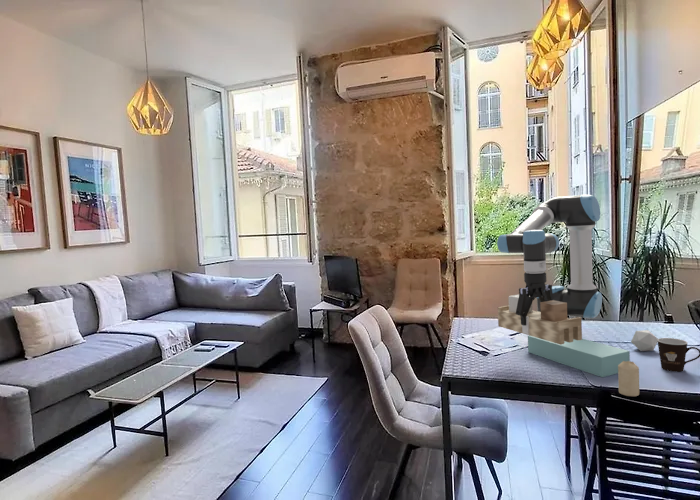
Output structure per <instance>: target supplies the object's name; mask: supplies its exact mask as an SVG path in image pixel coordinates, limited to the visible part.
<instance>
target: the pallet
mask: <svg viewBox="0 0 700 500" xmlns="http://www.w3.org/2000/svg"><path fill="white" fill-rule="evenodd" d="M532 310H533V309H532ZM527 316H528V317H529V335H530V336H533V337H536V338H540V339H543V340H547V341H550V342H553V343H557V344H560V345H561V344H564V341H566V342H569V343H570V342H573V339H574V340H578V341H579V340H582V339H583V329H582V327H583V326H582V323H583V322H582V317H576V316H575V317H573V318H569V317H567V319H566V320H561V321H557V322H551V321H547V320H543V319H541V312H538V311H537V310H533V312H529V313H528V314H527ZM497 323H498V327H499V328H503V329H507V330H510V331H512V332H516V333H519V334H524V333H522V325H521V316H519V315H516V313H514V312H510V311H509V304H508V305H503V306H498V307H497ZM524 335H527V334H524ZM529 335H527V336H529Z"/></svg>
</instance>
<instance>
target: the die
mask: <svg viewBox="0 0 700 500" xmlns="http://www.w3.org/2000/svg"><path fill="white" fill-rule="evenodd" d="M658 339H659V338H658V337H657V336H656V335H654V334H653V333H652V332H651V331H650V330H649V329H647V330H646V329H645V330H644V329H642V330H635V332H634V334H633V337H632V339H631V340H630V343H632V344H633V346H635V347H636V348H637V349H638V350H639V351H640V352H650V351H651V352H652V351H654V350H655V349H656V346H657V345H658V341H657V340H658Z"/></svg>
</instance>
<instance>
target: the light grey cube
mask: <svg viewBox="0 0 700 500" xmlns="http://www.w3.org/2000/svg"><path fill="white" fill-rule="evenodd" d="M529 297H530V296H529ZM518 298H519V294H513V295H509V296H508V305H509V311H510V312H514V313H516V309H517V304H518ZM529 312H533V303H532V304H531V307H530V309H529ZM529 312H528V313H529Z"/></svg>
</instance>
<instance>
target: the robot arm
mask: <svg viewBox="0 0 700 500" xmlns="http://www.w3.org/2000/svg"><path fill="white" fill-rule="evenodd" d="M600 218H601V208H600V203H599V201H598V199H597V197H596V196H594V195H593V194H579V195H578V194H577V195H566V196H556V197H553V198H549V199H548V200H546V201H544V202H542V203H540V204H539V205H537V206H536V207H535V208H534V209H533V211H532V213H531V215H530V216H528V217H527V218H526V219H525V220H524V221H523V222H522V223H520V225H518V226H517V227H516V228H514V230H513V231H511V232H510V233H509V234H508V233H504V234H500V235H499V236H498V238H497V241H496V246H497V249H498V251H499V252H500V253H505V254H523V271H524V274H523V279H524V283H525V287H523V288H522V287H519V288H518V295H519V298H518V304H517V309H516V315H519V316H521V325H522V333H521V334H523V333H524V335H526V334H527V336H529V317H528V316H527V314H528V312H529V309H530V307H531V304H532V305H533V301H534V300H535V299H536V311H538V312H541V307H540V302H546V301H552V300H554V301H560V302H565V303H567V317H568V316H569V317H575V318H576V317H581V318H584V319H586V318H587V319H594V318H596V317H598V315H599V313H600V312H601V308H602V303H603V296H602V295H603V294H602V292H600V291H598V287H597V286H596V285H595V284H594V280H593V278H594V277H593V243H592V242H593V240H592V238H593V237H592V230H593V228H594V227H595V226H596V222H599V220H600ZM556 223H557V224H558V223H565V228H566V229H567V230H568V231H569V254H570V255H569V256H570V257H569V261H570V262H569V263H570V264H569V265H570V284H569V285H567V287H566V289H565V286H563V285H552V284H548V283H547V273H546V271H547V261H546V260H547V256H546V255H547V254H552V253H553V252H555V251H556V250H558V249H559V246H560V239H559V237H558V236H557V235H556V234H555V233H550V232H545V230H543V229H544V228H545V227H547V226H550V225H551V224H556ZM529 296H530V297H529Z"/></svg>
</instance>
